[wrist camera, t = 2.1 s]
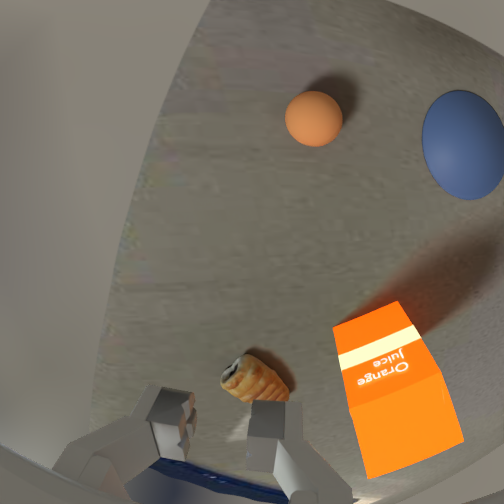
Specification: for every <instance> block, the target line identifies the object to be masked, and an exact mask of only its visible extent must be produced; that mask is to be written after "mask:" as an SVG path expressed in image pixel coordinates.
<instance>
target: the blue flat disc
mask: <svg viewBox="0 0 504 504" xmlns="http://www.w3.org/2000/svg"><path fill="white" fill-rule="evenodd" d="M422 146H423V152H424V157H425V160H426V163H427V166H428V168H429V170H430V172H431V174H432V176H433V177H434V179H435V180H436V181H437V183H438V184H439V185H440V186H441V187H442V188H443V189H444V190H445V191H447V192H448V193H449V194H451V195H453V196H455V197H458V198H461V199H465V200H474V199H479V198H482V197H484V196H486V195H487V194H489V193H490V192H491V191H493V190H494V189H495V187H496V186H497V185H498V184H499V182H500V180H501V179H502V177H503V174H504V128H503V125H502V123H501V121H500V119H499V117H498V115H497V114H496V112H495V111H494V109H493V108H492V107H491V106H490V105H489V104H488V103H487V102H486V101H485V100H483V99H482V98H481V97H479V96H477V95H475V94H473V93H470V92H466V91H453V92H449V93H446V94H444V95H442V96H441V97H440V98H438V99H437V100H436V101H435V102H434V103H433V104H432V106H431V107H430V109H429V111H428V113H427V115H426V117H425V120H424V125H423V131H422Z"/></svg>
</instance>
